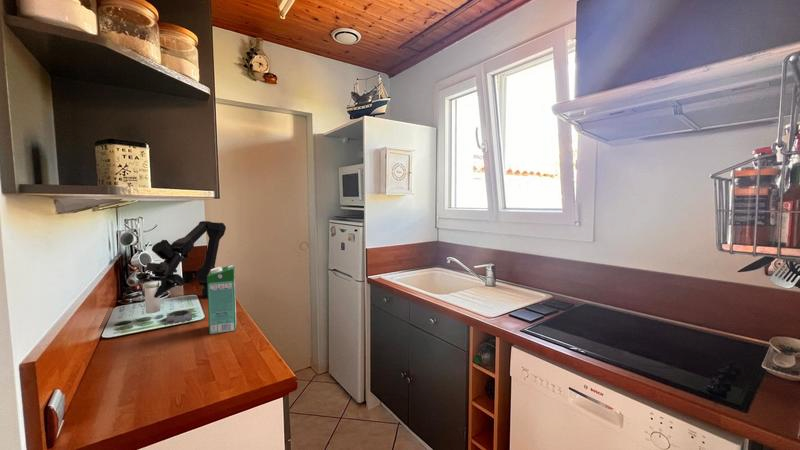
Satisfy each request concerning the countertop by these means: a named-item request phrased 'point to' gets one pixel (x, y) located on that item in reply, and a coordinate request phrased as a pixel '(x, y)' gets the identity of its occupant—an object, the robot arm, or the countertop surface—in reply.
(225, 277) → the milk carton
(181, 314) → the collar
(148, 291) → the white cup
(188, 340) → the countertop surface
